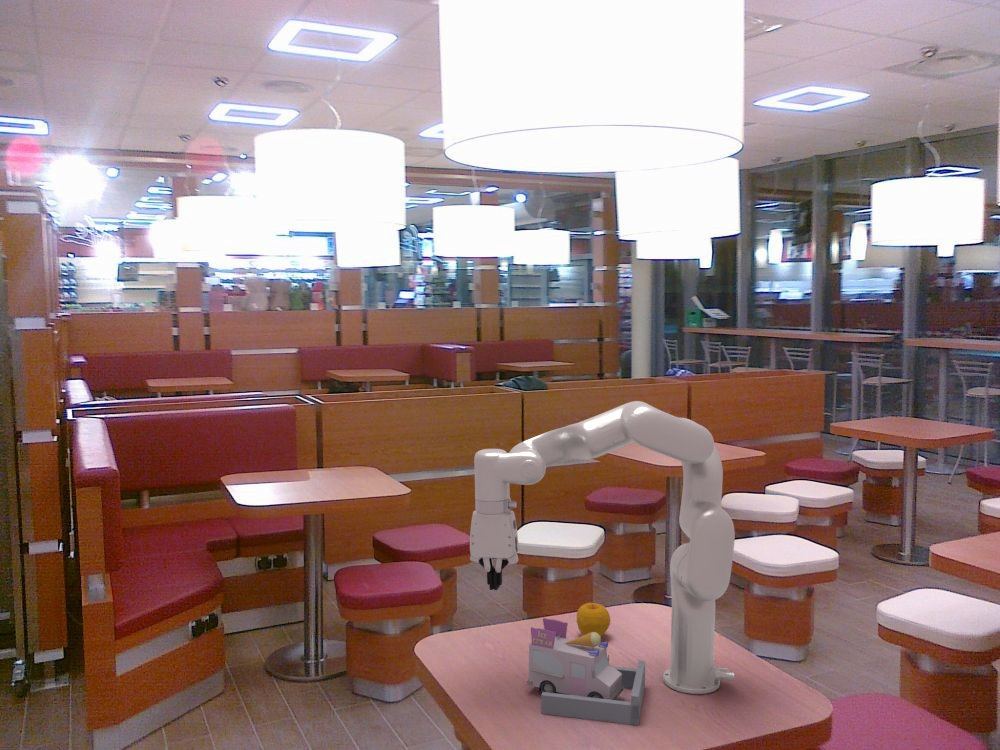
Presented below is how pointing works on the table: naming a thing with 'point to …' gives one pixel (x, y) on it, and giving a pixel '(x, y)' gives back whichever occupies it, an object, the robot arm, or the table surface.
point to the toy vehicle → (571, 663)
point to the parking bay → (601, 701)
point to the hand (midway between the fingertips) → (494, 587)
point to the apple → (593, 619)
